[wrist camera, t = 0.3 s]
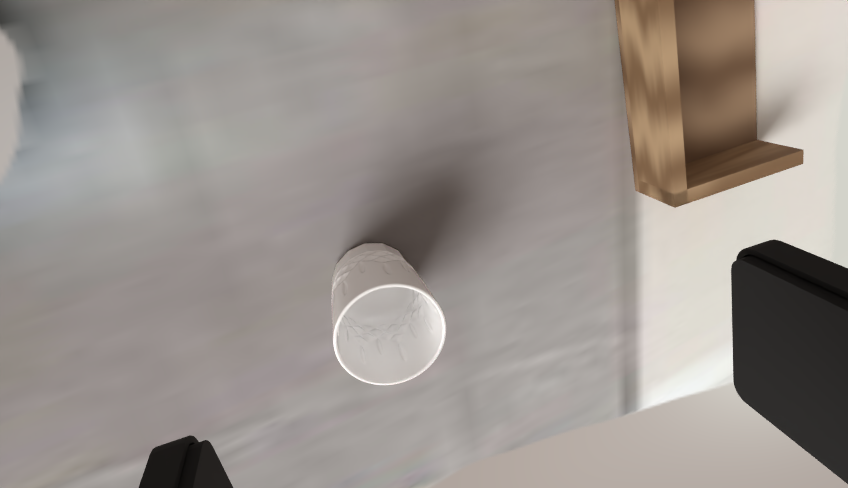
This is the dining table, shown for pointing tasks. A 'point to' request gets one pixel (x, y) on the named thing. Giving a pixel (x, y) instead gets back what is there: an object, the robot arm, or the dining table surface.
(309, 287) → the dining table surface
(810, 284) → the robot arm
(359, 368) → the white cup
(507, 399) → the dining table surface
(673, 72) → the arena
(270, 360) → the dining table surface
